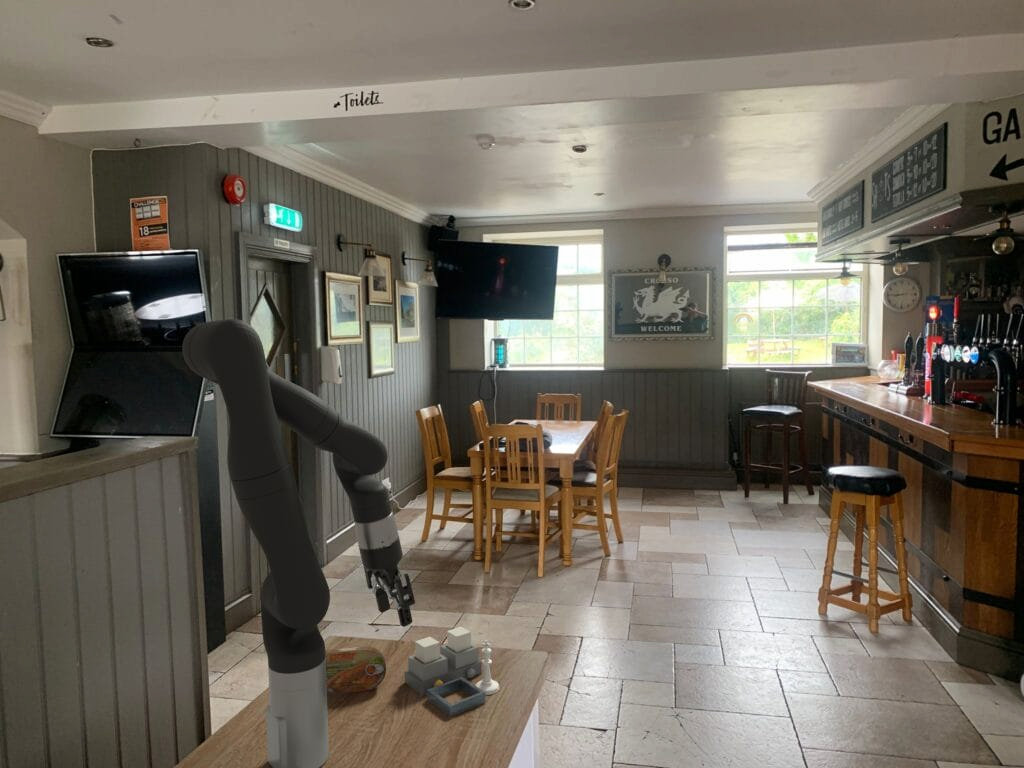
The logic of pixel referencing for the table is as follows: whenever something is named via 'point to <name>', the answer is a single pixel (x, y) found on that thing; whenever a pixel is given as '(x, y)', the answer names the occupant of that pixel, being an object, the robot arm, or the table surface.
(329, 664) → the tin
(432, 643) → the white square block
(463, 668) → the yellow-knobbed grey box
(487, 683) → the chess piece
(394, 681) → the table surface
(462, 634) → the breaker
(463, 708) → the frame
